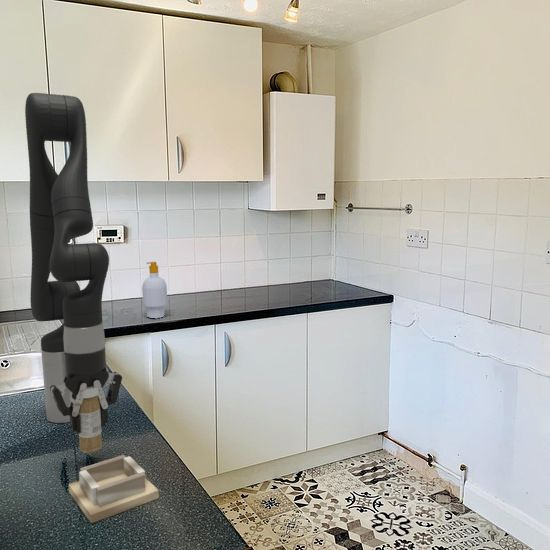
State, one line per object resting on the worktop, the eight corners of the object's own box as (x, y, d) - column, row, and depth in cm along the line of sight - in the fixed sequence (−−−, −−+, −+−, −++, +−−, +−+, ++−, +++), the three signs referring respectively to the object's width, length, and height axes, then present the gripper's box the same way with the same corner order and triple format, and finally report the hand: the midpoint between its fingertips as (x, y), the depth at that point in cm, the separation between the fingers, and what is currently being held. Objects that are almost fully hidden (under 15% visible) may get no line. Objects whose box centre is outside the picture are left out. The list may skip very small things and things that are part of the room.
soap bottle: (139, 317, 235) (136, 262, 231) (160, 313, 241) (158, 259, 238) (150, 321, 227) (147, 264, 223) (172, 317, 233) (170, 262, 230)
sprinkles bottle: (95, 441, 112) (92, 379, 110) (107, 448, 109) (103, 384, 106) (74, 448, 109) (70, 385, 106) (85, 456, 105) (81, 391, 103)
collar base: (68, 491, 98) (67, 468, 98) (132, 470, 105) (130, 449, 105) (91, 523, 89) (89, 498, 88) (158, 498, 96) (157, 474, 95)
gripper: (113, 335, 112) (117, 413, 115) (40, 348, 104) (47, 431, 107) (127, 344, 106) (131, 426, 109) (51, 358, 98) (58, 446, 101)
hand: (89, 428), depth 108 cm, fingers closed on sprinkles bottle, 4 cm apart
